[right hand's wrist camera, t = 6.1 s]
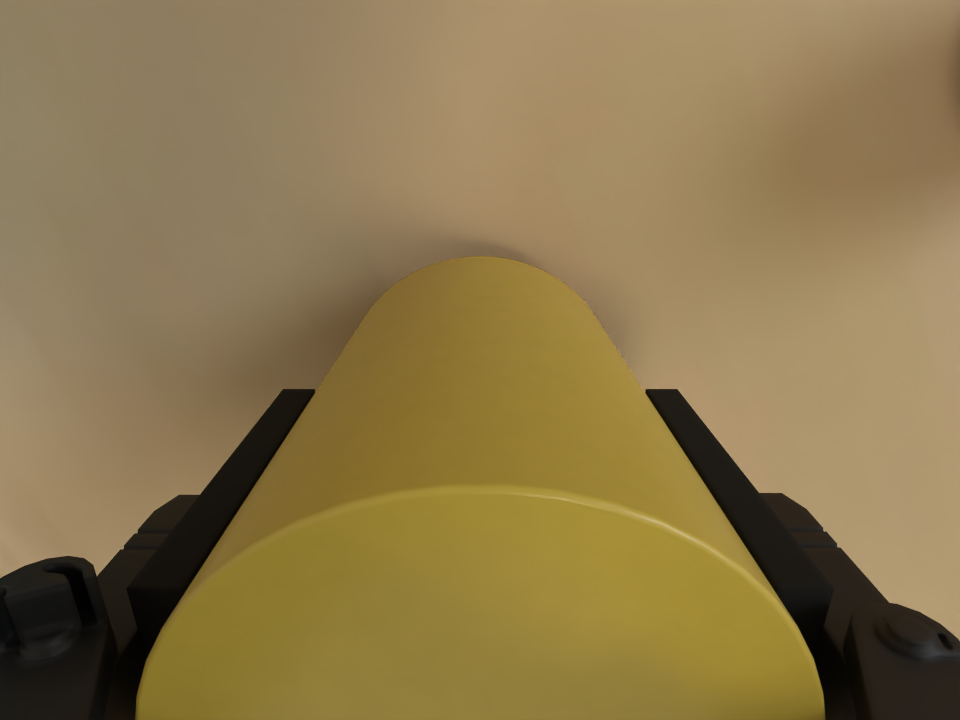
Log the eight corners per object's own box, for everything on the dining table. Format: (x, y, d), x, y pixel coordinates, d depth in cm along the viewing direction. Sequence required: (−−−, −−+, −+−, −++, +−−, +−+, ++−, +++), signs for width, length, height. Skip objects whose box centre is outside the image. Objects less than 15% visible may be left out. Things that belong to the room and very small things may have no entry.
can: (611, 492, 18) (784, 955, 8) (367, 507, 19) (222, 976, 8) (615, 245, 16) (891, 461, 5) (326, 265, 16) (25, 514, 5)
